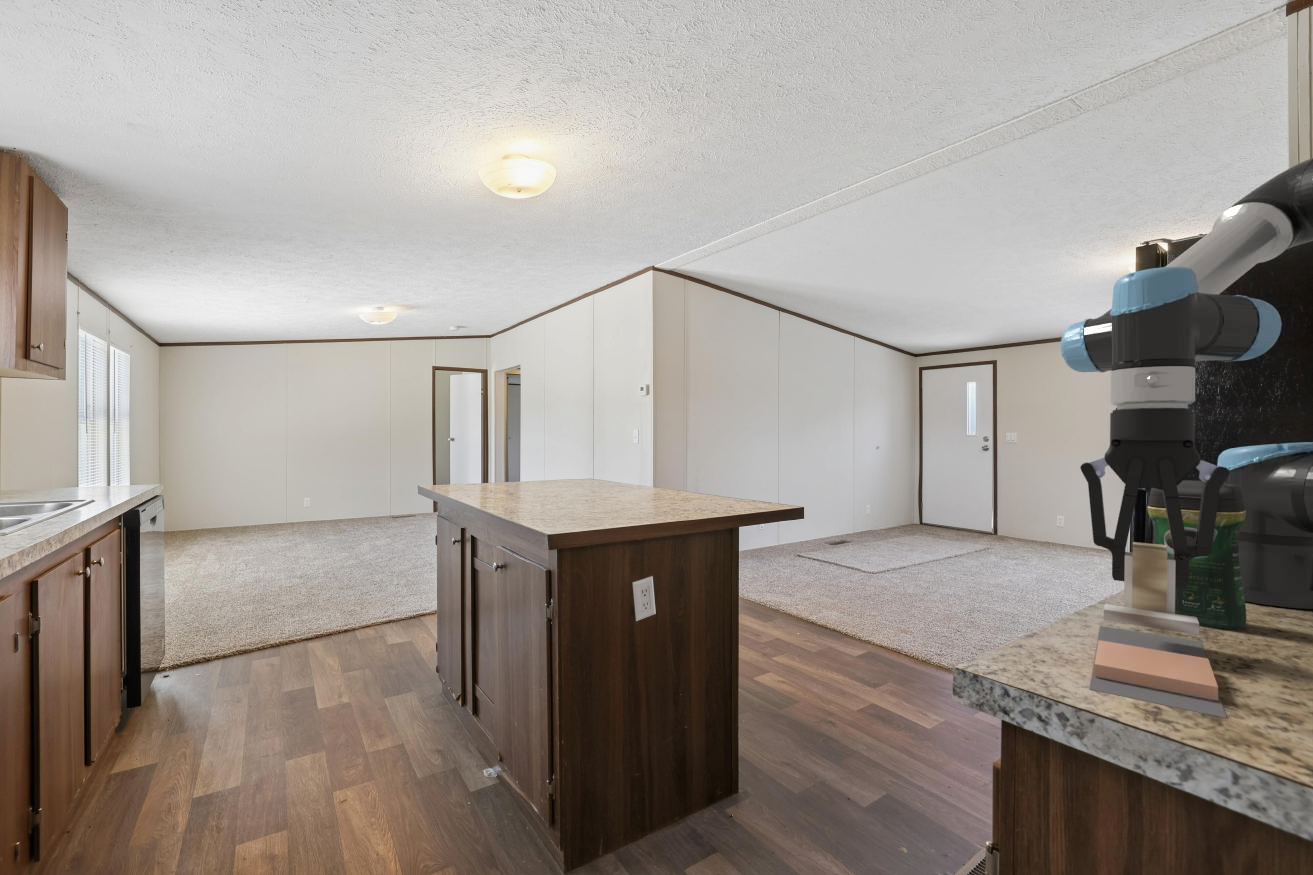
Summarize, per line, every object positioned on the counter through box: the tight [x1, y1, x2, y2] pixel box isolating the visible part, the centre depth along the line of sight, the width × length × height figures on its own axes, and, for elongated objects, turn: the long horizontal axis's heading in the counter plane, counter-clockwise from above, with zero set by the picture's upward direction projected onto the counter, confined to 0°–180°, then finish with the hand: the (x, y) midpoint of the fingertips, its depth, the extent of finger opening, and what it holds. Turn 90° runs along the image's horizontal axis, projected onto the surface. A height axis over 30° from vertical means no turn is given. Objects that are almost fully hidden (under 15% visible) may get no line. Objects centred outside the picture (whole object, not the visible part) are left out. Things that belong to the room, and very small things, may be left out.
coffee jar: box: [1146, 479, 1247, 631], centre depth 80 cm, size 10×8×19 cm
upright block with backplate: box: [1103, 541, 1200, 636], centre depth 69 cm, size 8×8×8 cm
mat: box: [1088, 625, 1228, 719], centre depth 64 cm, size 10×24×1 cm, turn 142°
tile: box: [1094, 639, 1219, 701], centre depth 61 cm, size 9×1×9 cm
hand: (1148, 612), depth 70 cm, fingers closed on upright block with backplate, 3 cm apart
